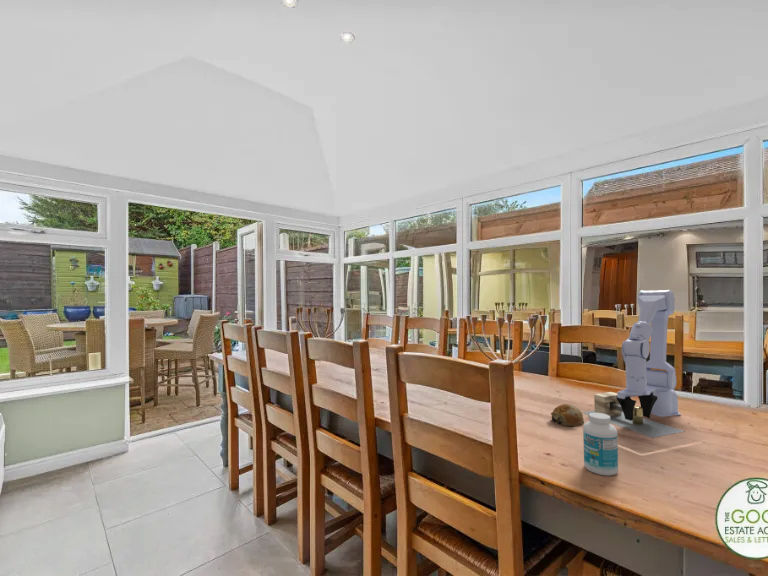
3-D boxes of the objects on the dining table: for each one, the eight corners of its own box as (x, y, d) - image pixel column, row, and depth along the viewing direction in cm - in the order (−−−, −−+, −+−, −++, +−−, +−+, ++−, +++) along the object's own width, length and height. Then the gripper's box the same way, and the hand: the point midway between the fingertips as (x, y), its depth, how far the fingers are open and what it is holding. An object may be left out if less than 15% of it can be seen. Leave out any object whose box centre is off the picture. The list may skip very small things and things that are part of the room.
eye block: (611, 411, 138) (611, 391, 138) (621, 414, 134) (621, 394, 134) (594, 413, 135) (594, 394, 136) (604, 417, 132) (603, 396, 132)
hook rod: (601, 409, 139) (601, 395, 139) (645, 423, 124) (644, 408, 124) (595, 410, 138) (595, 396, 138) (638, 424, 123) (638, 409, 123)
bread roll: (583, 439, 124) (593, 417, 123) (552, 424, 125) (562, 402, 125) (574, 428, 133) (584, 408, 133) (545, 415, 135) (555, 394, 135)
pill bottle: (577, 464, 98) (576, 411, 98) (605, 462, 99) (603, 410, 99) (596, 478, 91) (594, 420, 91) (625, 476, 91) (624, 419, 91)
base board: (610, 409, 142) (610, 407, 142) (685, 433, 117) (685, 431, 117) (581, 414, 137) (581, 412, 137) (652, 439, 113) (652, 437, 113)
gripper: (631, 381, 119) (632, 424, 118) (664, 377, 123) (665, 419, 123) (611, 376, 125) (612, 418, 125) (643, 373, 130) (644, 413, 130)
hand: (637, 418), depth 124 cm, fingers open, 7 cm apart
